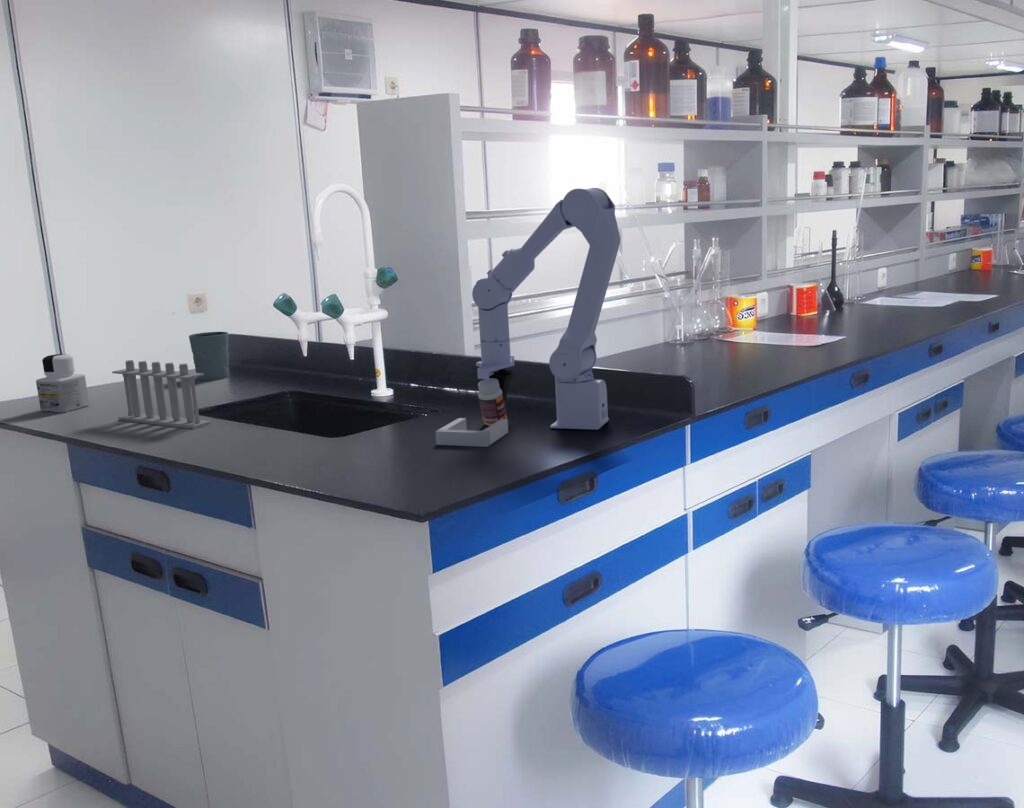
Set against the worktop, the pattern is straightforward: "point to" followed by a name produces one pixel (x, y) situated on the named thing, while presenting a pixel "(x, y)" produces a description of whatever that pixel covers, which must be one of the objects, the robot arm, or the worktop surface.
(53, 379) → the container
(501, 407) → the pill bottle
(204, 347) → the dark green cup
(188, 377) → the test tube rack
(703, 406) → the worktop surface
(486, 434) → the square dock
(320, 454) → the worktop surface
